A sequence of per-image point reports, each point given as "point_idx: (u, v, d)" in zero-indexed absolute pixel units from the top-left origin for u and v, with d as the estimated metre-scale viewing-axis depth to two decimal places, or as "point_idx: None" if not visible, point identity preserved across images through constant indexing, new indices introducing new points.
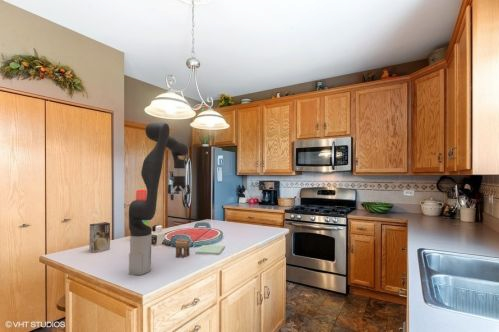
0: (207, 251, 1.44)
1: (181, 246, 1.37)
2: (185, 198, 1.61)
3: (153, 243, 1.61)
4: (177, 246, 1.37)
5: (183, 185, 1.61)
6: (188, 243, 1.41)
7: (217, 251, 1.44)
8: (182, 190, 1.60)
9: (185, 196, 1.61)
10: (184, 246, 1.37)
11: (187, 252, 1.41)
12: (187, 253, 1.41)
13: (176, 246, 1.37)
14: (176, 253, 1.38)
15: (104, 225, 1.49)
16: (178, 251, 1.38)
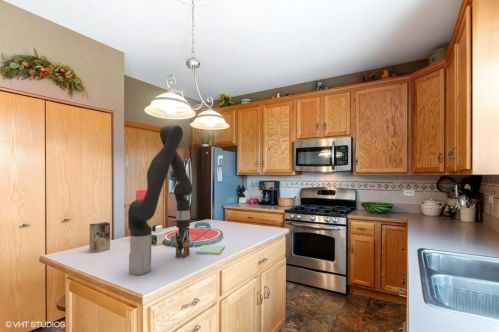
0: (207, 251, 1.44)
1: None
2: None
3: (153, 243, 1.61)
4: (177, 246, 1.37)
5: (186, 228, 1.44)
6: (188, 243, 1.41)
7: (217, 251, 1.44)
8: (187, 235, 1.42)
9: None
10: (184, 246, 1.37)
11: (187, 252, 1.41)
12: (187, 253, 1.41)
13: (176, 246, 1.37)
14: (176, 253, 1.38)
15: (104, 225, 1.49)
16: (178, 251, 1.38)
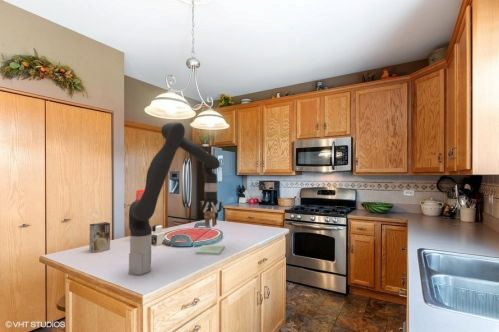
0: (207, 251, 1.44)
1: None
2: None
3: (153, 243, 1.61)
4: (214, 216, 1.48)
5: None
6: None
7: (217, 251, 1.44)
8: None
9: None
10: None
11: (209, 222, 1.52)
12: (209, 223, 1.52)
13: (214, 216, 1.47)
14: (214, 222, 1.47)
15: (104, 225, 1.49)
16: None
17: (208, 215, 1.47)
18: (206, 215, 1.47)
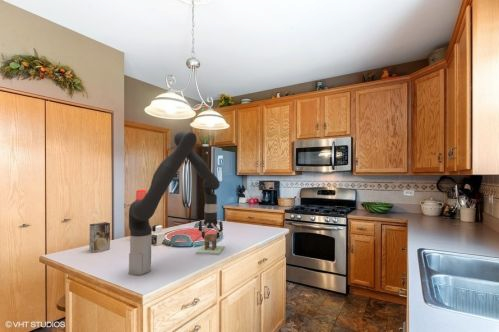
0: (207, 251, 1.44)
1: (215, 238, 1.50)
2: None
3: (153, 243, 1.61)
4: (214, 239, 1.47)
5: None
6: None
7: (217, 251, 1.44)
8: None
9: None
10: (216, 237, 1.51)
11: None
12: None
13: (214, 239, 1.47)
14: (214, 246, 1.47)
15: (104, 225, 1.49)
16: None
17: (208, 238, 1.47)
18: (206, 239, 1.47)
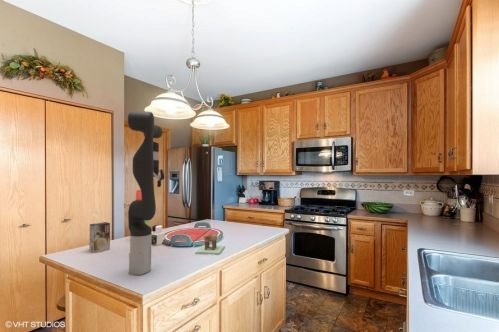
0: (207, 251, 1.44)
1: (215, 238, 1.50)
2: None
3: (153, 243, 1.61)
4: (214, 239, 1.47)
5: None
6: None
7: (217, 251, 1.44)
8: None
9: None
10: (216, 237, 1.51)
11: None
12: None
13: (214, 239, 1.47)
14: (214, 246, 1.47)
15: (104, 225, 1.49)
16: None
17: (208, 238, 1.47)
18: (206, 239, 1.47)
